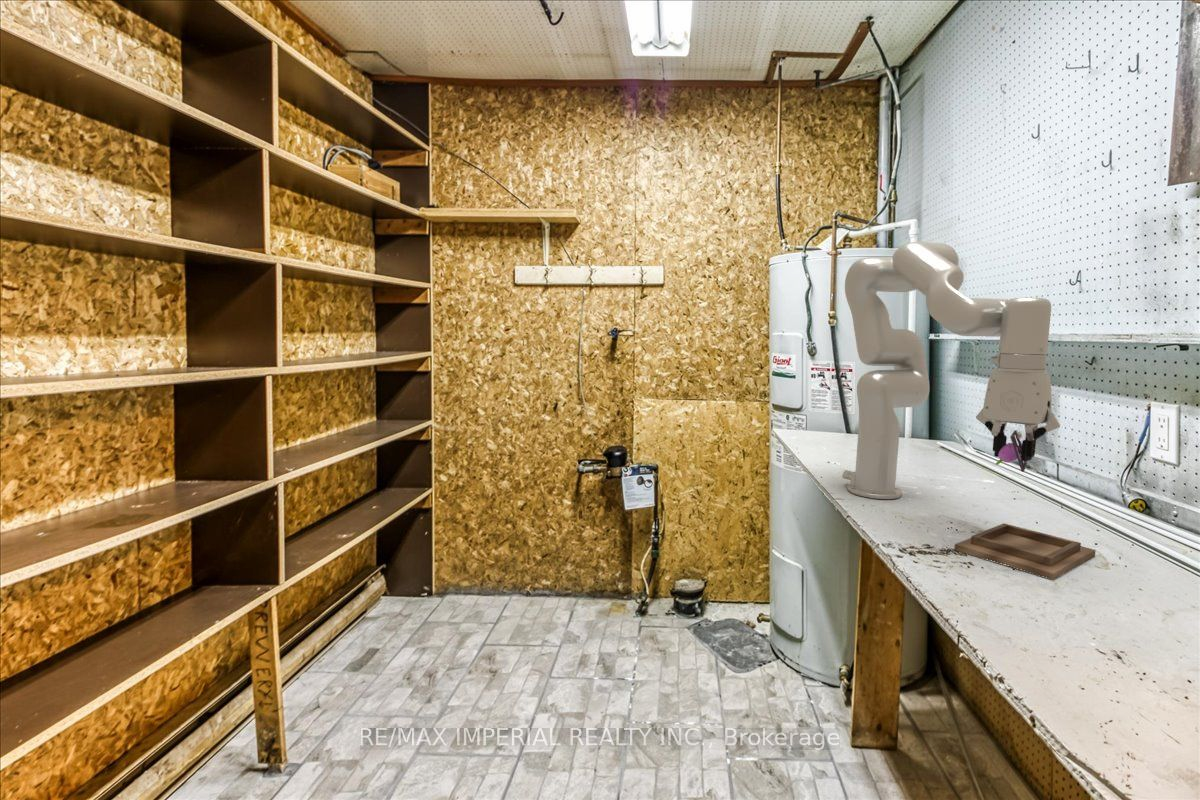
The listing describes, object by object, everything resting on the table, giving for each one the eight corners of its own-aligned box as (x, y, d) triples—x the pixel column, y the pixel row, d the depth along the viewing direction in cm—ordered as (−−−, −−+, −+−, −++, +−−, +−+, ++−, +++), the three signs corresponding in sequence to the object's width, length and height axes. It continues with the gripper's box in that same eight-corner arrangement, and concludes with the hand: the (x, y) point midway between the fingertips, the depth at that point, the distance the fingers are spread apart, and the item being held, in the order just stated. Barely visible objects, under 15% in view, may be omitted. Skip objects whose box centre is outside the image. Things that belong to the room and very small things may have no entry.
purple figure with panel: (1017, 435, 110) (1021, 429, 117) (985, 441, 113) (990, 434, 120) (1028, 471, 109) (1031, 462, 116) (996, 475, 113) (1000, 467, 120)
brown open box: (954, 550, 115) (955, 536, 115) (1000, 531, 126) (1002, 518, 126) (1052, 580, 102) (1054, 565, 102) (1094, 556, 113) (1096, 542, 113)
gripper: (965, 361, 118) (957, 452, 121) (1066, 366, 105) (1056, 468, 107) (982, 361, 123) (975, 448, 125) (1082, 365, 109) (1072, 464, 111)
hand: (1012, 457), depth 116 cm, fingers closed on purple figure with panel, 3 cm apart
